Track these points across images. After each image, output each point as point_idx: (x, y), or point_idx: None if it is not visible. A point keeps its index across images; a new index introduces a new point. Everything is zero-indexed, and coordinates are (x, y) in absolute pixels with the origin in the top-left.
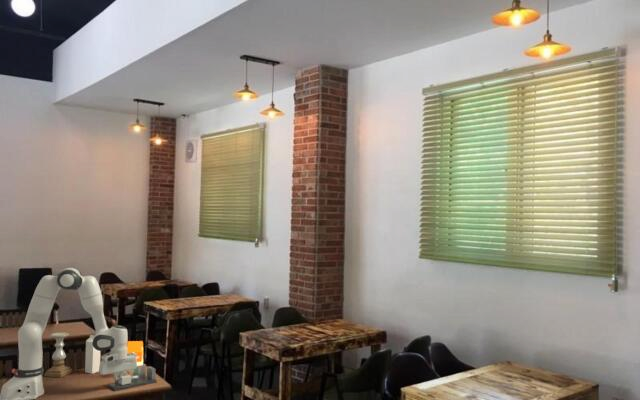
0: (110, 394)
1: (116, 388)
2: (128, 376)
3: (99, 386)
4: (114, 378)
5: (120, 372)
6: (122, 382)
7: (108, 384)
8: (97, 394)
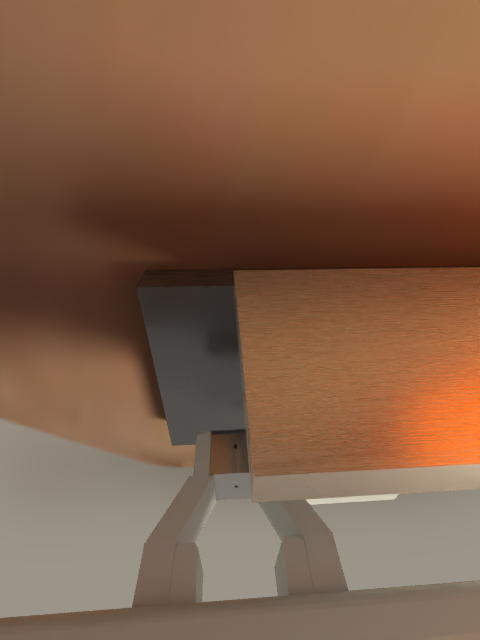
0: (126, 457)
1: (186, 440)
2: (359, 500)
3: (17, 191)
4: (236, 314)
5: (278, 580)
6: None
7: (140, 292)
8: (16, 423)
